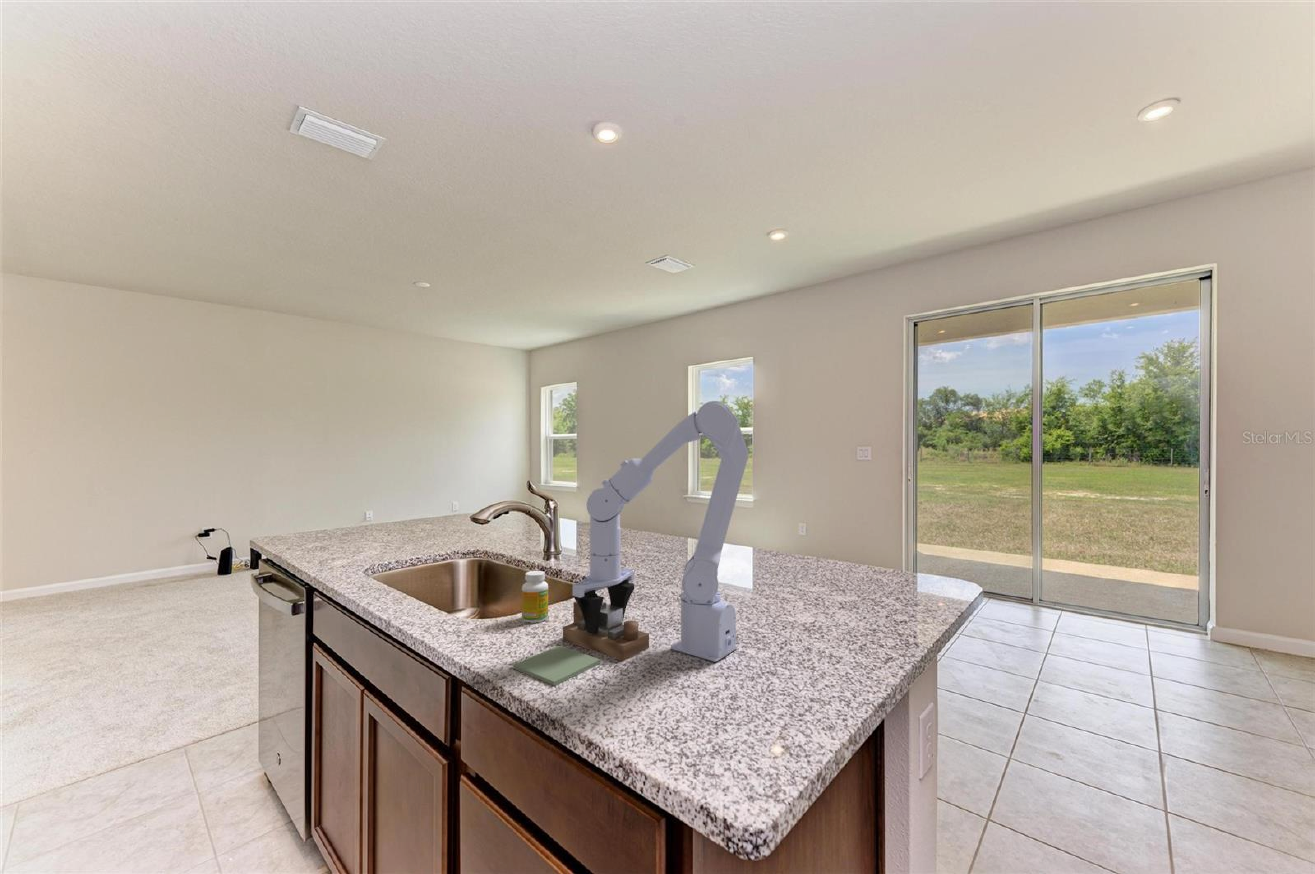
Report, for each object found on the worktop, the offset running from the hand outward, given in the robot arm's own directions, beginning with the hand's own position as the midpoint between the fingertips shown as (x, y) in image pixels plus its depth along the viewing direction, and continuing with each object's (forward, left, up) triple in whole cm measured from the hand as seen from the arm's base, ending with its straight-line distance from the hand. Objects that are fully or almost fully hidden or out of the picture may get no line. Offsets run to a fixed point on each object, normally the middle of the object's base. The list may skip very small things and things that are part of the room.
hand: (605, 627), depth 92 cm
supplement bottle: (+21, -1, -3) cm, 21 cm away
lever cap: (0, 0, 0) cm, 0 cm away
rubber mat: (0, +11, -3) cm, 12 cm away
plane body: (0, 0, -3) cm, 3 cm away
